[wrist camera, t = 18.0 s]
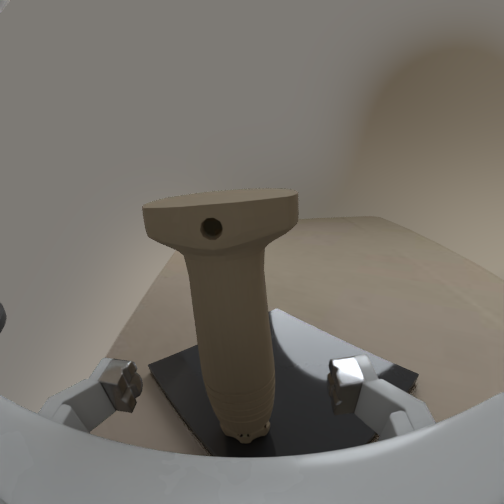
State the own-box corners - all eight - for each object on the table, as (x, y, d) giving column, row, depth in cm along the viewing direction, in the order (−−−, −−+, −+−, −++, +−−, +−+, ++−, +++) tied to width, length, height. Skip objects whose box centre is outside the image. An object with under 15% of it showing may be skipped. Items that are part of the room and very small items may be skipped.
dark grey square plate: (280, 522, 9) (280, 519, 9) (150, 372, 23) (147, 364, 22) (416, 381, 18) (419, 373, 18) (276, 315, 32) (276, 307, 32)
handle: (296, 452, 13) (307, 198, 9) (195, 453, 14) (122, 213, 9) (290, 400, 18) (290, 186, 13) (205, 402, 18) (164, 196, 14)
